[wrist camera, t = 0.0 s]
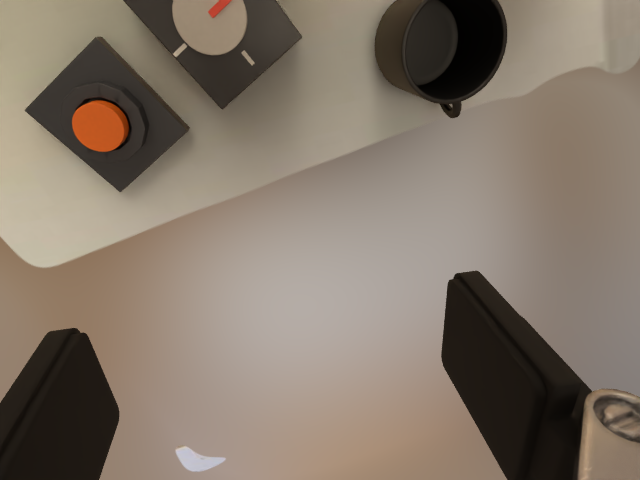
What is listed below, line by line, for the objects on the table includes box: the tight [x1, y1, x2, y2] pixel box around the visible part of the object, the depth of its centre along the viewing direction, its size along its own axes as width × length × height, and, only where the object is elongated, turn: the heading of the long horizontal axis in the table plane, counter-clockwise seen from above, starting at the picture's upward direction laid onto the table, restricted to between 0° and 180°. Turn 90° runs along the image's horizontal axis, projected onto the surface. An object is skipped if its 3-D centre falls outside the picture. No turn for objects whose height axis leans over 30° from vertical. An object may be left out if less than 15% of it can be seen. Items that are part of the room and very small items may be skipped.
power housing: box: [25, 37, 190, 192], centre depth 41 cm, size 11×10×4 cm
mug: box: [375, 0, 507, 118], centre depth 40 cm, size 9×12×9 cm
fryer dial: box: [172, 0, 247, 55], centre depth 34 cm, size 6×6×5 cm
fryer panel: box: [123, 0, 302, 109], centre depth 38 cm, size 12×10×4 cm
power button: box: [72, 100, 129, 152], centre depth 39 cm, size 4×4×2 cm
